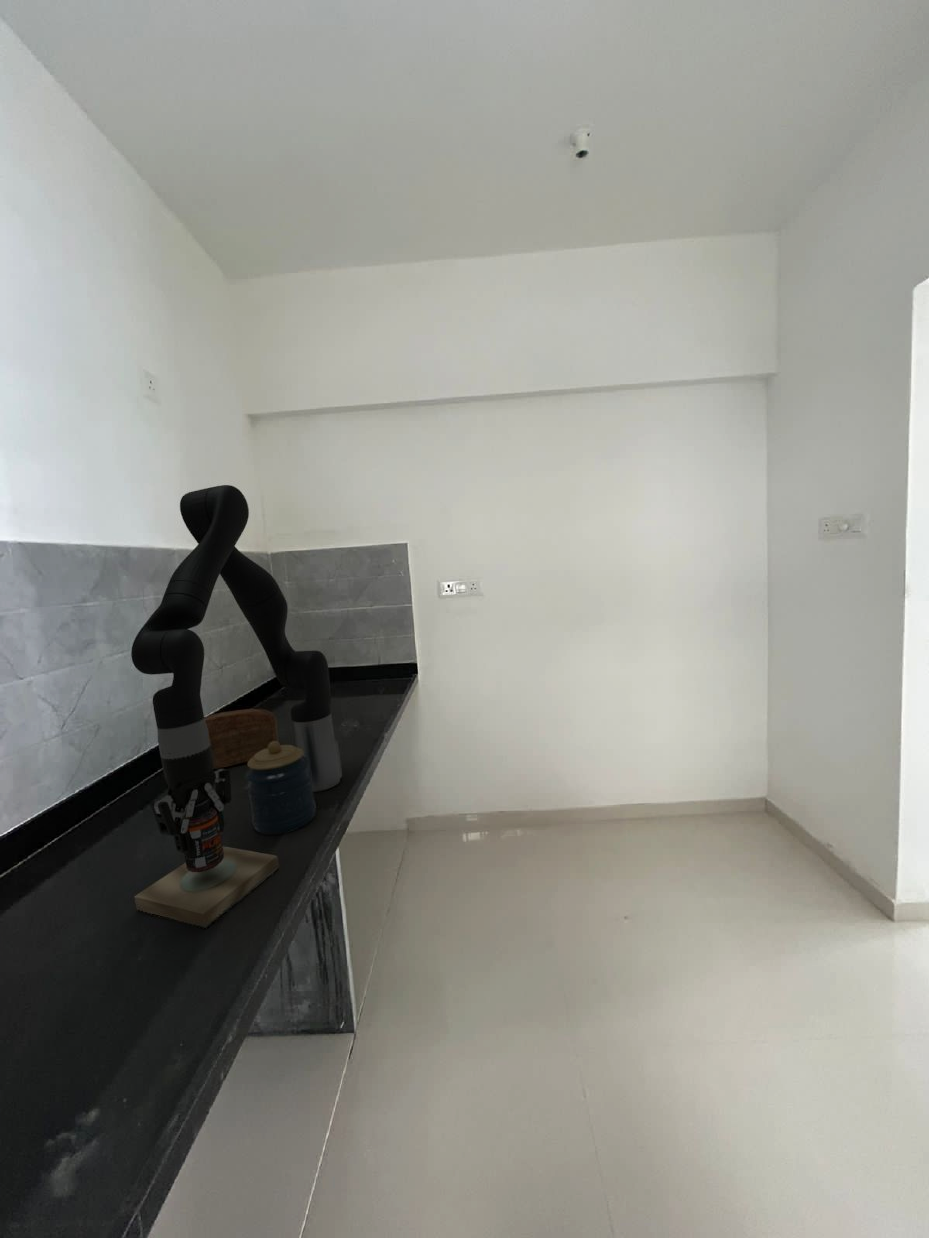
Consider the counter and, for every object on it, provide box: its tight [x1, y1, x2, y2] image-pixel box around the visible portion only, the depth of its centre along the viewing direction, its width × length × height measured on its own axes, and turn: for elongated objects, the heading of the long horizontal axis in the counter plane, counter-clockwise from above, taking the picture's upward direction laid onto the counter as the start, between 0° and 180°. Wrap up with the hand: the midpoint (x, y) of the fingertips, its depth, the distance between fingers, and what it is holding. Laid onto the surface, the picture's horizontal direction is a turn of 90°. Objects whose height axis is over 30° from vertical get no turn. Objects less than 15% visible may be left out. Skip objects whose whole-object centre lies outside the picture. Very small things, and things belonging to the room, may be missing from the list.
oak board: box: [134, 845, 280, 927], centre depth 94 cm, size 16×16×3 cm
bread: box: [204, 708, 279, 770], centre depth 154 cm, size 12×28×14 cm, turn 111°
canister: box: [244, 741, 317, 836], centre depth 115 cm, size 13×13×18 cm
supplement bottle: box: [180, 799, 224, 872], centre depth 93 cm, size 6×6×11 cm
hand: (202, 841), depth 93 cm, fingers closed on supplement bottle, 6 cm apart
